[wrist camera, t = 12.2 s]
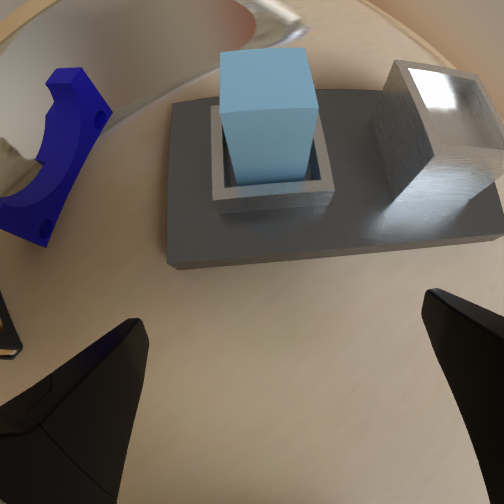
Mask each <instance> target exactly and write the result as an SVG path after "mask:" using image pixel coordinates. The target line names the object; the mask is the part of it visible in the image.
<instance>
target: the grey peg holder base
mask: <svg viewBox="0 0 504 504" xmlns="http://www.w3.org/2000/svg"><path fill="white" fill-rule="evenodd" d="M315 93H316V97H317V102H318V107H319V109H318V115H317V120H316V125H315V130H314V135H313V140H312V145H311V150H310V155H309V160H308V165H307V170H306V175H305V180H304V181H298V182H285V183H272V184H260V185H249V186H239V187H238V186H237V182H236V178H235V174H234V170H233V166H232V161H231V157H230V153H229V149H228V145H227V141H226V137H225V133H224V129H223V125H222V121H221V117H220V96H218V97H211V98H204V99H197V100H191V101H185V102H179V103H173V104H172V114H171V127H170V143H169V162H168V188H167V264H169V265H170V266H172V267H174V268H175V269H177V270H182V269H194V268H207V267H219V266H231V265H243V264H255V263H267V262H279V261H290V260H301V259H313V258H324V257H335V256H345V255H356V254H367V253H377V252H388V251H398V250H408V249H418V248H428V247H438V246H448V245H457V244H467V243H476V242H486V241H493V240H495V239H497V238H500V237H502V236H504V213H503V209H502V206H501V202H500V198H499V195H498V192H497V188H496V185H495V182H494V181H495V180H497V179H498V178H499V177H501V176H502V175H503V174H504V124H503V122H502V120H501V118H500V116H499V114H498V112H497V110H496V108H495V106H494V104H493V102H492V100H491V98H490V96H489V94H488V92H487V90H486V89H485V87H484V85H483V83H482V81H481V80H480V78H479V76H478V75H476V74H472V73H468V72H464V71H459V70H455V69H450V68H445V67H440V66H434V65H429V64H423V63H416V62H409V61H402V60H394V62H393V65H392V67H391V70H390V72H389V75H388V77H387V80H386V82H385V85H384V87H383V90H382V91H374V90H347V89H315Z"/></svg>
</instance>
